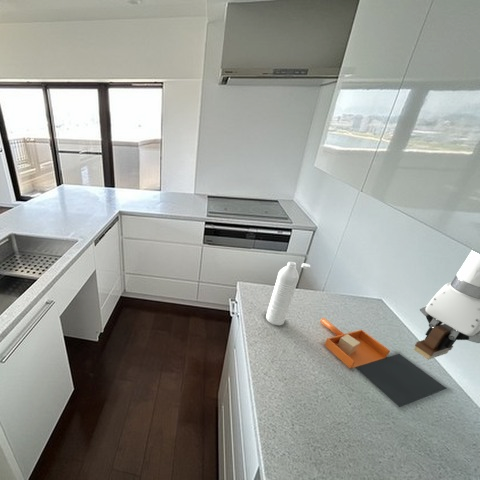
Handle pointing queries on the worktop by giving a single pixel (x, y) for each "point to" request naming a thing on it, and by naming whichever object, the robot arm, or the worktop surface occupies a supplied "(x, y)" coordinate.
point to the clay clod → (348, 344)
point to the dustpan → (365, 352)
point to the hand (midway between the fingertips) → (436, 342)
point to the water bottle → (283, 293)
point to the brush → (434, 342)
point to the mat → (400, 379)
